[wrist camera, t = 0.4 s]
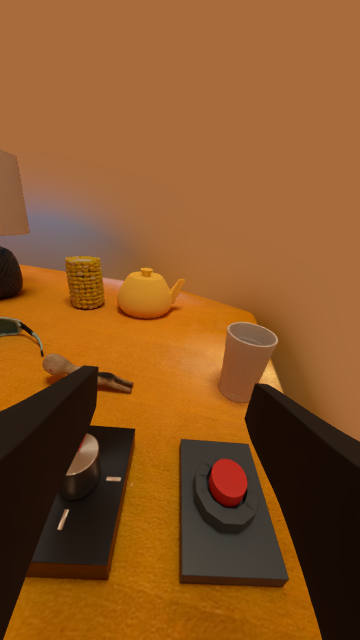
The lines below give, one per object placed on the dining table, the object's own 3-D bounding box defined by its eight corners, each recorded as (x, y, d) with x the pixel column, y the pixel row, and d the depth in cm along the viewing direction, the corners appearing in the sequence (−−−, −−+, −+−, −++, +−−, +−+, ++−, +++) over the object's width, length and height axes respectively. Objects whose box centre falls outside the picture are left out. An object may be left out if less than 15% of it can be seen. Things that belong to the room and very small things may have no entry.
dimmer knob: (92, 501, 20) (89, 474, 19) (48, 499, 20) (41, 471, 18) (105, 458, 24) (104, 432, 22) (68, 456, 24) (63, 429, 22)
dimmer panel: (108, 580, 18) (106, 564, 17) (-4, 575, 18) (-15, 559, 16) (134, 444, 29) (135, 427, 28) (65, 439, 29) (62, 422, 27)
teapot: (116, 320, 60) (115, 274, 54) (118, 296, 76) (118, 259, 71) (186, 321, 64) (192, 279, 59) (175, 298, 81) (179, 263, 75)
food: (84, 317, 62) (68, 307, 68) (118, 300, 69) (100, 293, 75) (65, 266, 54) (48, 259, 60) (105, 252, 61) (87, 248, 67)
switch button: (247, 508, 21) (252, 498, 21) (211, 506, 21) (214, 496, 20) (238, 469, 25) (242, 459, 24) (206, 467, 24) (209, 457, 24)
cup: (264, 407, 38) (287, 348, 32) (219, 405, 37) (235, 345, 32) (249, 376, 45) (265, 323, 39) (210, 374, 44) (222, 320, 39)
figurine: (131, 390, 40) (48, 366, 39) (137, 372, 38) (50, 346, 37) (125, 406, 37) (35, 381, 35) (132, 387, 35) (36, 359, 33)
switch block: (282, 587, 19) (296, 571, 18) (179, 583, 19) (184, 566, 17) (245, 452, 30) (251, 434, 28) (179, 447, 29) (182, 429, 28)
